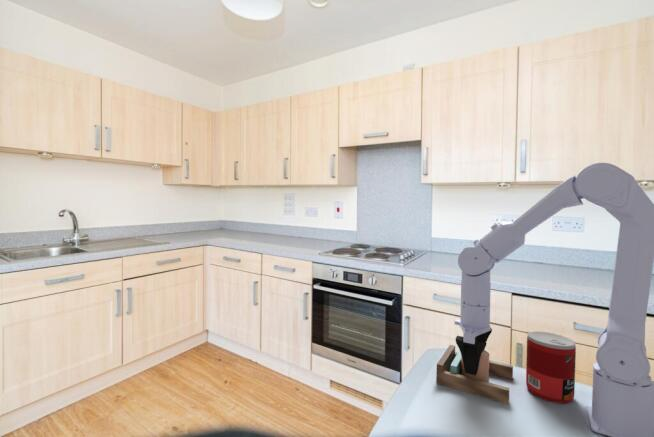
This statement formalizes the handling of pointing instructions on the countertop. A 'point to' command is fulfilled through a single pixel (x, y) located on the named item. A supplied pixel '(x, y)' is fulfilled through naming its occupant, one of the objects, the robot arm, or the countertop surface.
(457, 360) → the plate
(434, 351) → the countertop surface
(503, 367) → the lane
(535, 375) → the canned food
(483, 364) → the tan rounded cylinder
